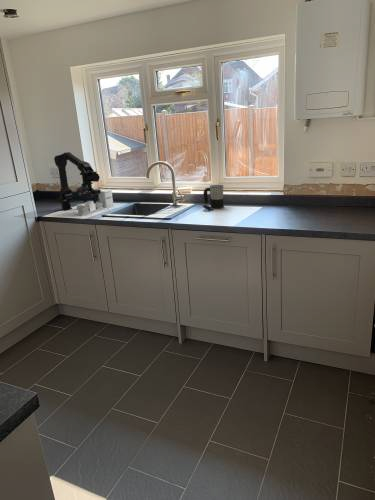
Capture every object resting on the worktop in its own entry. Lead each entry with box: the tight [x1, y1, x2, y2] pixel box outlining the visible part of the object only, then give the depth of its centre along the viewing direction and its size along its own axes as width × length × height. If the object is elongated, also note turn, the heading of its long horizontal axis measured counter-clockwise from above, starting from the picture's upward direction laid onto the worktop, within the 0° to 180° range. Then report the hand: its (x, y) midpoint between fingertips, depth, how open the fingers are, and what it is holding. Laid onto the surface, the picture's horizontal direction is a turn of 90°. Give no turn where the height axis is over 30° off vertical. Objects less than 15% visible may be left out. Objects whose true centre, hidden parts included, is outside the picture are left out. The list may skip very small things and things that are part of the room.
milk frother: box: [202, 184, 225, 211], centre depth 265 cm, size 14×16×15 cm
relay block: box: [76, 203, 85, 211], centre depth 298 cm, size 4×4×4 cm
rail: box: [76, 201, 106, 217], centre depth 283 cm, size 6×22×6 cm, turn 147°
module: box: [84, 200, 96, 211], centre depth 283 cm, size 4×6×6 cm
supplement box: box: [98, 189, 114, 209], centre depth 295 cm, size 7×7×13 cm
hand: (90, 203), depth 282 cm, fingers open, 9 cm apart
